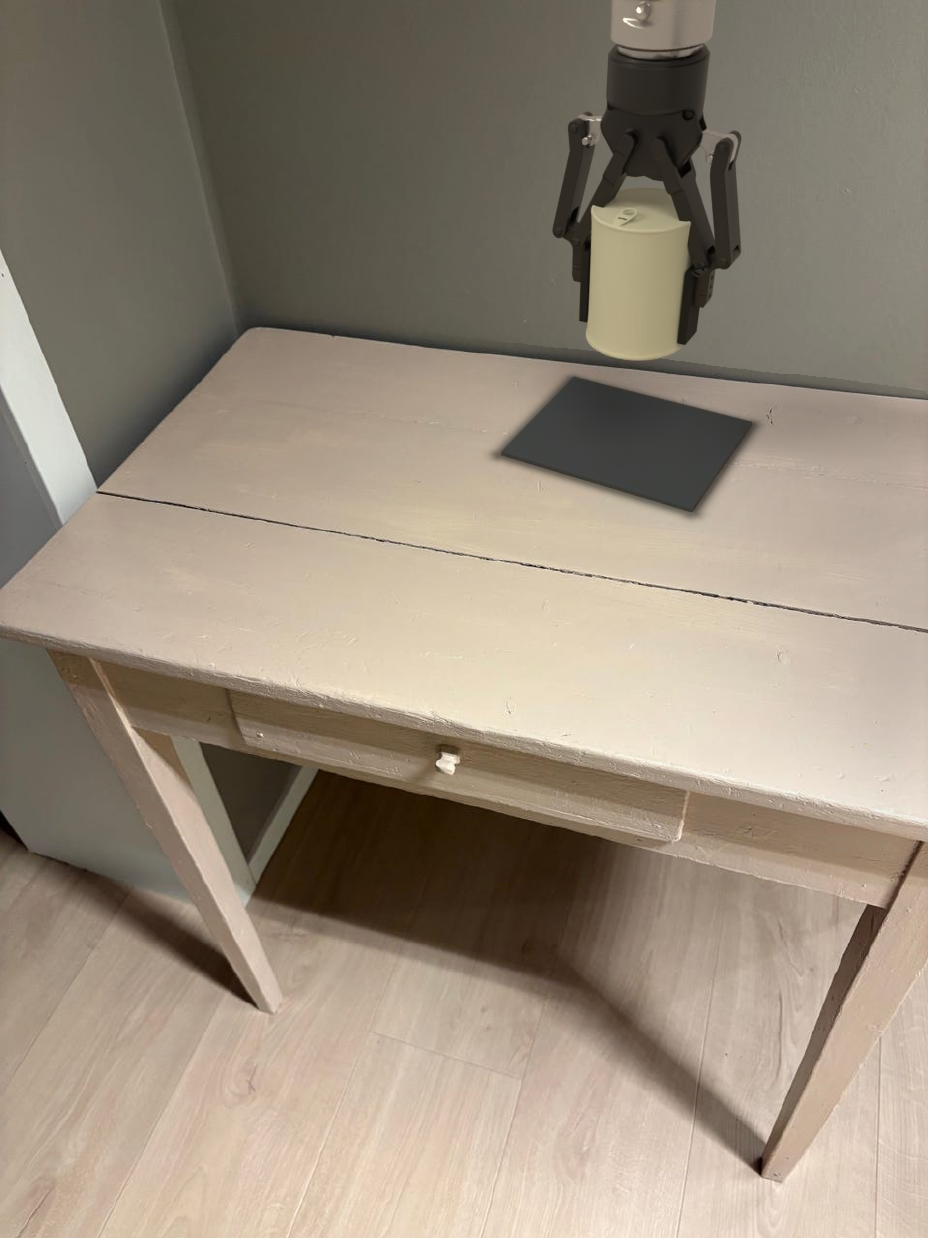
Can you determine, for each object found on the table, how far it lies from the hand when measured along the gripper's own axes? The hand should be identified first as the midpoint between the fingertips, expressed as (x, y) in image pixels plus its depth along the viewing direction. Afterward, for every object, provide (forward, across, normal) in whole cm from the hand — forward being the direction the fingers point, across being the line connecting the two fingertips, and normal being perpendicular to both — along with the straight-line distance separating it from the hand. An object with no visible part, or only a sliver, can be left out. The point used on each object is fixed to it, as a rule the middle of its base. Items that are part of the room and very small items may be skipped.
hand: (636, 326), depth 87 cm
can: (+1, 0, 0) cm, 1 cm away
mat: (+12, 0, 0) cm, 12 cm away
